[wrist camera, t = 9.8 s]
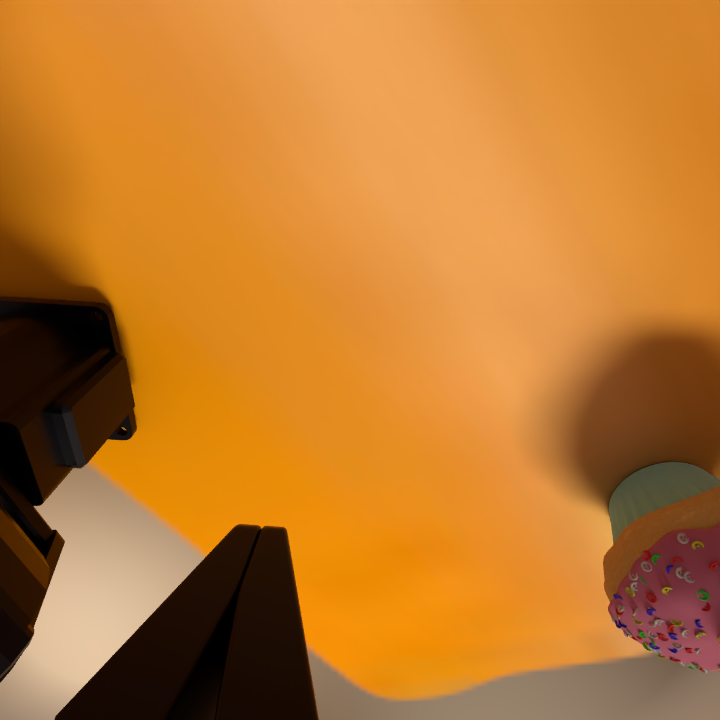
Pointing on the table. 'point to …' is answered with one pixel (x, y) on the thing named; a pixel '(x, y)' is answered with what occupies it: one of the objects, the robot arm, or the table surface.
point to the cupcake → (667, 562)
